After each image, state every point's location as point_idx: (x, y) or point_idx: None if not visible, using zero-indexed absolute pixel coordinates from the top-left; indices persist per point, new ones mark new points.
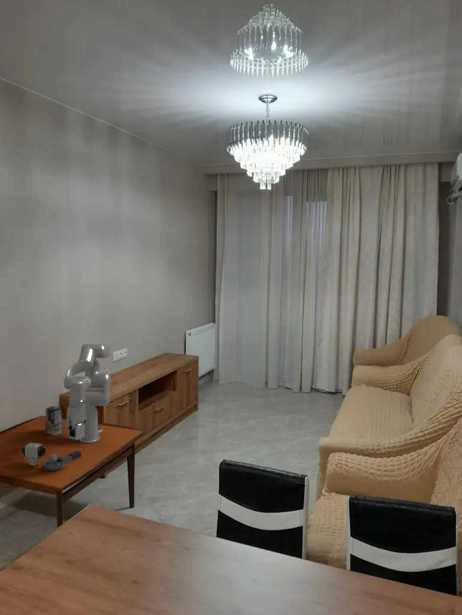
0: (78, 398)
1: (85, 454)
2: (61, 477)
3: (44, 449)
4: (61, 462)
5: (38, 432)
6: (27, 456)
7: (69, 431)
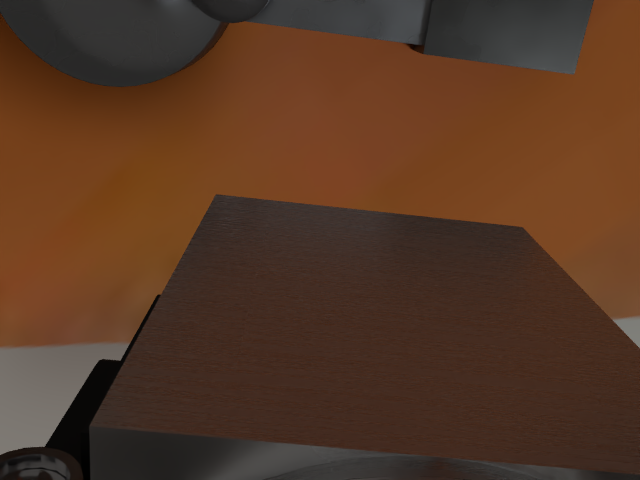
0: None
1: (620, 79)
2: (11, 225)
3: None
4: (162, 68)
5: None
6: None
7: (54, 433)
